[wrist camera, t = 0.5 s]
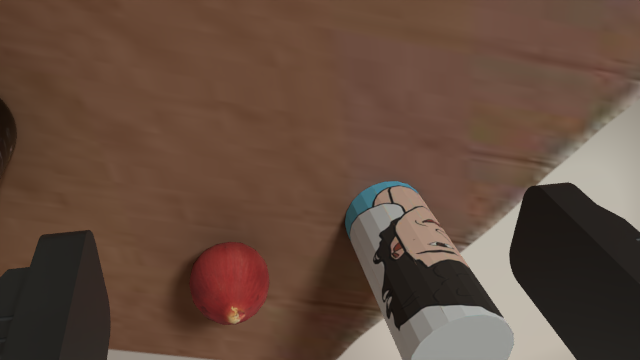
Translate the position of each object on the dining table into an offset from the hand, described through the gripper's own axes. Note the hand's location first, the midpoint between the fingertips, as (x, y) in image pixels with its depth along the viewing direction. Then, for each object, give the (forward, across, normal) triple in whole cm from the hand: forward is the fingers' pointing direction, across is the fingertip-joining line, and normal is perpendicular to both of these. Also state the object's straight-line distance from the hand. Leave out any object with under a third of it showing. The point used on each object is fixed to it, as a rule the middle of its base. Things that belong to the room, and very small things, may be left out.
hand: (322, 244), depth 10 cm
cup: (+28, -12, +20) cm, 36 cm away
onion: (+28, +1, +22) cm, 35 cm away
